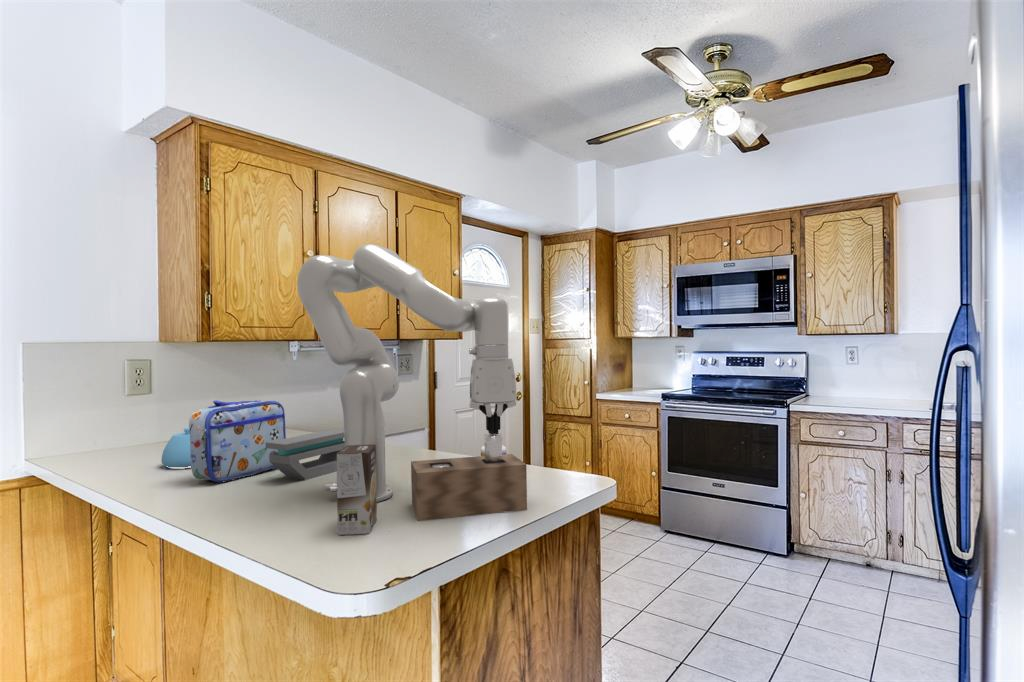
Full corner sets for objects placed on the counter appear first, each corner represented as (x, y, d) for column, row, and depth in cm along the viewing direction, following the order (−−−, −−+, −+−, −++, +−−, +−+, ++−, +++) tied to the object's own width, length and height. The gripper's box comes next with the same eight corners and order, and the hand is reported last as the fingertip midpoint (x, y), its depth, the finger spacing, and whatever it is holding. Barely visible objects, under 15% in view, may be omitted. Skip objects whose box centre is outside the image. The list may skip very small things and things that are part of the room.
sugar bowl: (181, 460, 183) (180, 424, 183) (226, 459, 183) (225, 424, 183) (150, 470, 168) (149, 432, 168) (199, 470, 168) (198, 431, 168)
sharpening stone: (335, 463, 174) (334, 428, 174) (354, 466, 170) (353, 430, 170) (266, 482, 152) (265, 442, 152) (286, 485, 148) (285, 444, 148)
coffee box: (370, 534, 110) (368, 452, 110) (336, 535, 109) (335, 453, 109) (377, 519, 119) (376, 443, 119) (346, 520, 118) (345, 444, 118)
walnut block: (417, 520, 117) (416, 473, 117) (411, 504, 129) (411, 461, 129) (527, 509, 124) (526, 464, 124) (512, 495, 136) (511, 453, 136)
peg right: (487, 476, 126) (486, 436, 126) (483, 472, 129) (482, 433, 129) (504, 475, 127) (503, 435, 127) (499, 471, 131) (499, 432, 131)
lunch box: (207, 489, 146) (206, 404, 146) (181, 485, 150) (180, 403, 150) (291, 466, 170) (289, 394, 170) (266, 464, 175) (265, 393, 175)
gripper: (462, 354, 122) (464, 438, 122) (528, 352, 126) (529, 433, 126) (456, 353, 130) (458, 433, 130) (518, 351, 134) (520, 428, 134)
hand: (493, 433), depth 128 cm, fingers closed
